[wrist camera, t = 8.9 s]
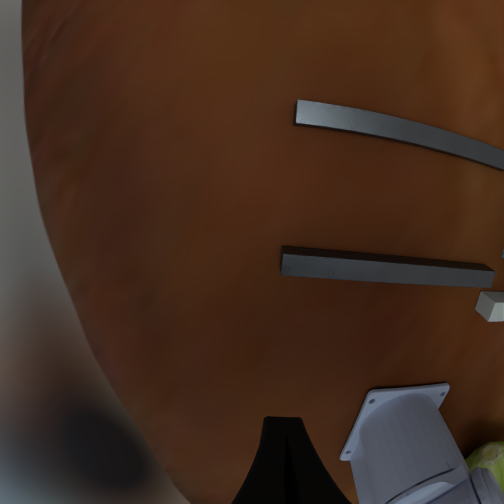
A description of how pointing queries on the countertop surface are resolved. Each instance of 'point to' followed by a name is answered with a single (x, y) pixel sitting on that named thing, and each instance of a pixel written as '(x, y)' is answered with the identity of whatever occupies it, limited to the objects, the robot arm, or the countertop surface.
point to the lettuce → (489, 460)
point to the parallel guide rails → (379, 265)
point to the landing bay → (491, 305)
